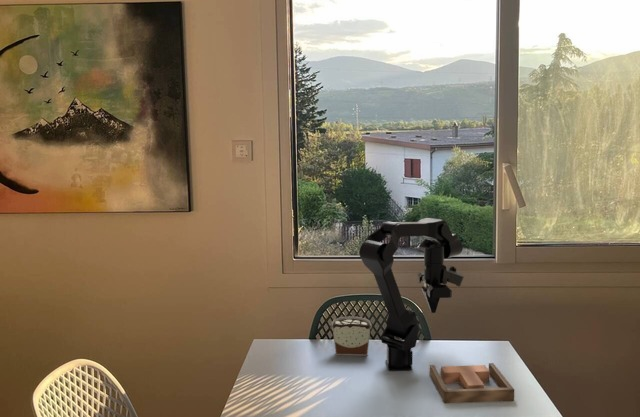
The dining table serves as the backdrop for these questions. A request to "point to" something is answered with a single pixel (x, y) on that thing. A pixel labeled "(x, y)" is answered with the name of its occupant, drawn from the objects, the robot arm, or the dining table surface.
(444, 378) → the terracotta T block
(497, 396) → the walnut bay
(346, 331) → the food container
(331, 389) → the dining table surface
